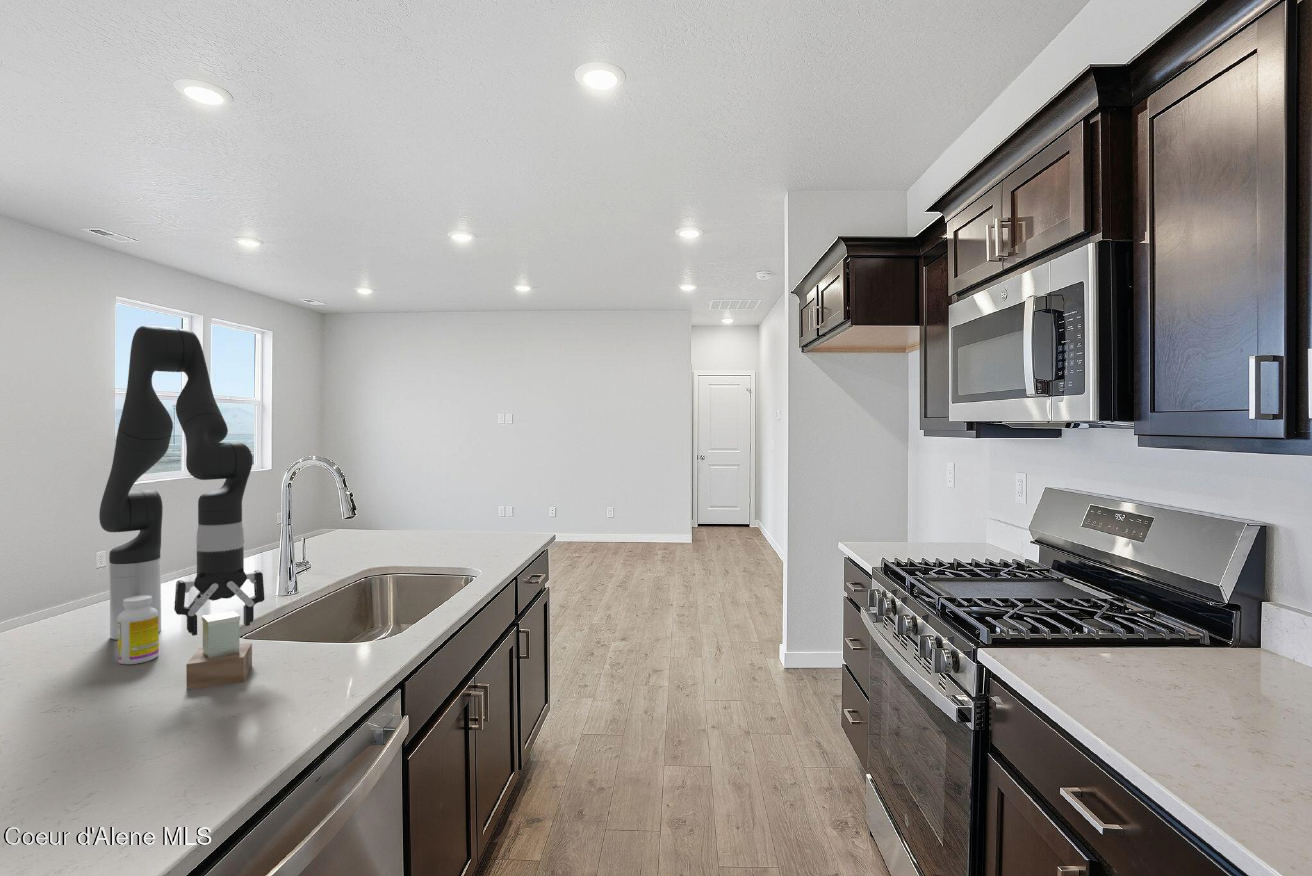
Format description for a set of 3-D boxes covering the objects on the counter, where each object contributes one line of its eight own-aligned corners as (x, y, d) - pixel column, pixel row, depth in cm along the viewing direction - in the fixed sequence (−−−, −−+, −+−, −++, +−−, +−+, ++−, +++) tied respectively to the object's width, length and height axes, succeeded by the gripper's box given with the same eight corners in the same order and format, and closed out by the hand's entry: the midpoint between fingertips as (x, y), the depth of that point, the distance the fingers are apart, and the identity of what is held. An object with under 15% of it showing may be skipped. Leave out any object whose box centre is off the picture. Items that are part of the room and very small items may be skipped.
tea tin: (202, 652, 125) (201, 615, 125) (233, 646, 129) (233, 610, 129) (208, 659, 121) (207, 621, 121) (240, 652, 125) (240, 616, 125)
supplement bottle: (167, 654, 137) (166, 594, 137) (139, 666, 130) (138, 602, 130) (138, 653, 138) (137, 593, 137) (108, 664, 131) (108, 601, 131)
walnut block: (198, 673, 128) (198, 648, 127) (252, 667, 131) (251, 642, 131) (186, 690, 119) (186, 663, 119) (243, 683, 123) (243, 657, 123)
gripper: (258, 539, 132) (258, 617, 133) (172, 547, 123) (172, 632, 123) (267, 544, 127) (267, 626, 127) (177, 553, 117) (177, 642, 117)
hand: (220, 629), depth 125 cm, fingers open, 8 cm apart
